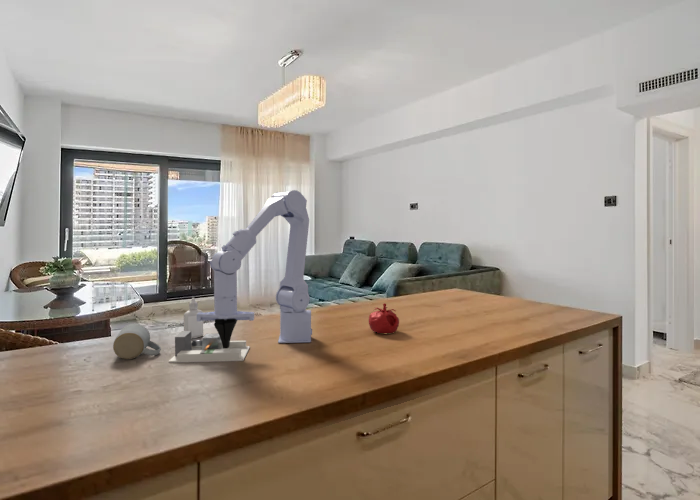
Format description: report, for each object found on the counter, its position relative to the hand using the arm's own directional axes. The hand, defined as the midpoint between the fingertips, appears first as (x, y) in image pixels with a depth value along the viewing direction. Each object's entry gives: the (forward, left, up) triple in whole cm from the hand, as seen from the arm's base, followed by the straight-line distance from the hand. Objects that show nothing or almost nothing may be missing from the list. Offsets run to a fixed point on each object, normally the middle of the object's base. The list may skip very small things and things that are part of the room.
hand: (226, 347), depth 108 cm
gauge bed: (+4, +1, -2) cm, 4 cm away
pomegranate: (-46, -19, -2) cm, 50 cm away
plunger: (+5, +2, -1) cm, 6 cm away
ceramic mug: (+22, 0, -2) cm, 23 cm away
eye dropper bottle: (+13, -17, -2) cm, 21 cm away
